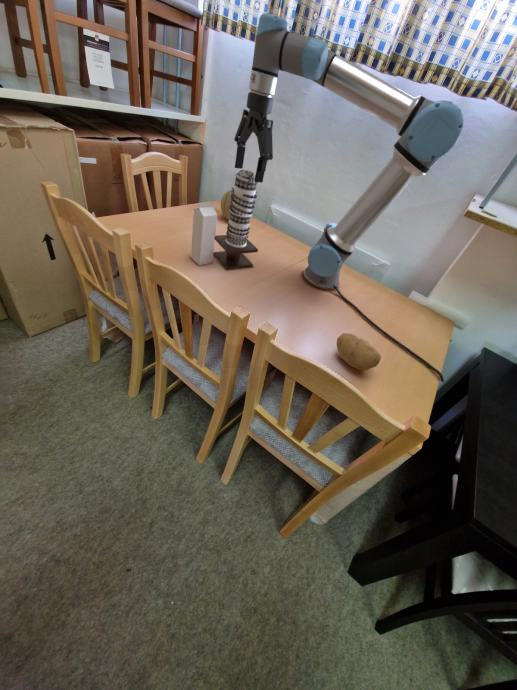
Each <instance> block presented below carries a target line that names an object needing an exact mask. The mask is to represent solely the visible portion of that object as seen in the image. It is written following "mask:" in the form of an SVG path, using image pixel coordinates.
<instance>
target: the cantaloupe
mask: <svg viewBox="0 0 517 690" xmlns="http://www.w3.org/2000/svg"><path fill="white" fill-rule="evenodd" d="M233 189H234V186H233V187H231V189H230V190H227V191H225V192H224V193H223V195H222V197H221V199H220V210H221V214H222V215H223V216H224V217H225V219H226V220H228V221H229V218H230V214H231V212H230V201H231V200H232V199H231V195H232V194H231V193H232V192H231V191H232V190H233ZM233 192H234V191H233Z"/></svg>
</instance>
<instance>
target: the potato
mask: <svg viewBox="0 0 517 690" xmlns="http://www.w3.org/2000/svg"><path fill="white" fill-rule="evenodd" d="M336 350H337V353H338V356H339V357H340V358H341V359H342V360H343V361H344V362H345V363H346V364H348V365H349V366H350V367H352V368H354V369H356V370H359V371H363V372H365V371H369V370H371V369H373V368H376V367H377V366H378V365H379V363H380V362H381V359H382V355H381V354H380V352H379V351H378V350H377V349H376V348H375V347H374V346H373V345H372V344H371V343H370V342H369V341H368V340H365V339H363V338H362V337H360V336H357V335H356V334H354V333H347V332H345V333H342V334H340V335H339V337H337V338H336Z"/></svg>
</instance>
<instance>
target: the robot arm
mask: <svg viewBox="0 0 517 690" xmlns="http://www.w3.org/2000/svg"><path fill="white" fill-rule="evenodd" d="M280 71H281V72H285V73H289V74H292V75H295V76H298V77H301V78H304V79H306V80H311V81H312V82H314V83H316V84H318V86H321V87H323V88H324V89H326V90H328V91H330V92H332V93H334V94H335V95H337V96H339V97H341V98H343V99H344V100H345V101H347V102H349V103H351V104H353V105H354V106H356V107H358V108H359V109H361V110H363V111H365V112H367V113H368V114H370V115H371V116H373V117H375V118H377V119H379V120H380V121H382V122H383V123H386V124H387V125H389V126H391V127H392V128H394V129H395V130H396V135H398V136H399V138H398V140H397V141H396V142H395V143H394V145H393V146H392V155H391V157H390V159H388V161H387V162H386V163H385V165H384V166H383V167H382V168H381V170H379V172H378V173H377V175H376V176H375V177H374V178H373V179H372V181H371V182H370V183H369V185H368V186H367V187H366V188H365V189H364V190H363V192H362V193H361V194H360V196H359V197H358V198H357V199H356V201H355V202H354V203H353V204H352V205H351V207H350V208H349V209H348V210H347V211H346V213H345V214H344V216H343V217H342V218H341V219H340V220H339V221H338V223H335V222H328V223H327V224H326V225H325V227H324V228H323V232H322V235H321V237H320V238H319V240H317V242H316V243H315V245H313V247H312V248H311V249H310V250H309V252H308V255H307V266H306V267H305V269H304V271H303V274H302V275H303V276H302V277H303V279H304V280H305V281H306V283H308V284H309V285H310V286H312V287H314V288H317V289H319V290H324V291H332V290H335V291H336V293H337V294H338V295H339V296H340V298H342V300H344V301H345V302H346V303H347V304H349V305H350V306H351V307H352V308H353V309H354V310H355V311H356V312H357V313H359V314H360V316H362V317H363V318H364V319H365V320H366V321H367V322H368V323H369V324H371V325H372V326H373V327H374V328H375V329H377V330H378V331H379V332H381V333H382V334H383V335H385V336H386V337H387V338H389V339H390V340H391V341H392V342H394V343H395V344H397V345H398V346H400V347H401V348H402V349H404V350H405V351H406V352H408V353H410V355H412V356H414V358H417V359H418V360H419V361H421V362H422V363H423V364H424V365H426V366H427V367H428V368H430V369H431V370H432V371H433V372H435V373H436V374H437V375H438V376H439V379H440V381H441V382H442V383H444V382H445V380H444V376H443V374H442V373H441V372H440V371H439V370H438V369H437V368H436V367H434V366H433V365H431V363H429V362H428V361H426V360H425V359H424V358H423V357H421V356H419V355H418V354H417V353H415V352H414V351H413V350H411V349H410V348H408V347H407V346H406V345H404V344H403V343H402V342H400V341H398V340H397V339H395V338H394V337H393V336H392V335H391V334H389V333H387V332H386V331H385V330H384V329H382V328H381V327H380V326H378V324H376V323H375V322H373V320H371V319H370V318H369V317H368V316H367V315H366V314H365V313H363V311H361V310H360V309H359V308H358V307H357V306H356V305H355V304H354V303H352V302H351V301H350V300H348V299H347V297H345V296H344V295H343V294H342V293H341V291H340V290H339V288H338V286H339V284H340V275H341V268H342V267H343V264H344V263H345V262H346V261H347V259H349V257H350V256H351V255H352V254H353V253H354V252H355V250H356V243H357V242H358V241H359V240H360V239H361V238H362V237H363V235H364V234H366V232H367V231H368V230H369V228H371V227H372V225H374V223H375V222H376V221H377V220H378V219H379V218H380V217H381V216H382V215H383V213H384V212H385V211H386V210H387V209H388V208H389V207H390V205H392V203H394V201H395V200H396V199H397V198H398V197H399V196H400V195H401V193H402V192H403V191H404V190H405V189H406V188H407V187H408V186H409V184H411V183H412V181H413V180H414V179H415V178H416V177H420V176H425V175H427V173H428V172H429V171H430V170H431V169H432V168H433V167H434V166H435V164H436V163H438V161H439V160H440V159H441V158H443V157H445V156H446V155H448V154H449V153H450V152H451V151H452V150H453V149H454V148H455V146H456V145H457V143H458V142H459V140H460V137H461V135H462V133H463V130H464V129H463V128H464V115H463V113H462V109H460V107H459V106H458V104H455V103H453V102H452V101H449V100H444V99H443V100H437V101H434V100H431V99H428V98H427V97H424V96H423V95H417V96H416V97H415V96H412V95H410V94H409V93H407V92H405V91H404V90H402V89H399V88H398V87H396V86H395V85H393V84H391V83H389V82H387V81H385V80H384V79H382V78H380V77H378V76H377V75H375V74H373V73H371V72H369V70H366V69H364V68H363V67H360V66H359V65H357V64H355V63H353V62H351V61H350V60H348V59H346V58H345V57H343V56H341V55H339V54H337V53H335V52H334V51H332V50H330V49H329V45H328V43H327V42H326V41H324V40H321V39H319V38H318V37H312V36H307V35H304V34H300V33H299V34H298V33H295V32H291V31H289V30H288V21H287V19H285V18H284V17H282V16H279V15H275V14H272V13H268V12H265V13H262V14H261V15H260V16H259V18H258V24H257V29H256V35H255V42H254V50H253V58H252V66H251V73H250V76H249V86H248V87H249V90H250V91H249V92H248V93H247V100H246V108H247V109H244V108H243V111H242V115H241V119H240V122H239V125H238V128H237V130H236V132H235V136H234V138H233V139H234V142H236V153H235V154H236V155H235V161H234V168H235V169H241V170H243V167H244V160H245V154H246V146H247V144H246V143H247V142H248V140H249V139H250V137H251V135H252V134H253V133H254V135H255V136H256V139H257V147H258V153H259V157H258V160H257V165H256V171H255V182H257V183H263V182H264V177H265V172H266V168H267V164H268V162H269V161H272V160H273V158H274V154H273V153H274V147H273V126H274V120H272V119H268V115H270V114H271V113H272V109H273V104H274V98H273V97H275V95H276V89H277V84H278V79H279V78H278V77H279V72H280Z"/></svg>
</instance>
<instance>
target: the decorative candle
mask: <svg viewBox="0 0 517 690" xmlns="http://www.w3.org/2000/svg"><path fill="white" fill-rule="evenodd" d="M255 175H256V173H255V172H253V171H251V170H248V169H247V170H245V169H241V170H239V171H238V172H237V173H234V176H235V180H234V184H233V188H234V189H231V190H232V191H231V192H232V193H231V194H232V195H231V199H232V200H231V201H230V212H231V214H230V218H229V220H228V222H227V224H226V225H227V227H226V232H225V235H226V240H225V241H226V243H227V244H228V245H230V246H233V247H237V248H242V247H245V246H246V244H247V243H246V242H247V240H249V234H250V229H251V227H250V225H251V222H250V221H251V217H252V216H253V214H254V211H253V210H252V209H255V204H256V201H255V199H257V198H258V196H257V194H258V192H257V185H258V182H255ZM233 191H234V192H233Z"/></svg>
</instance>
